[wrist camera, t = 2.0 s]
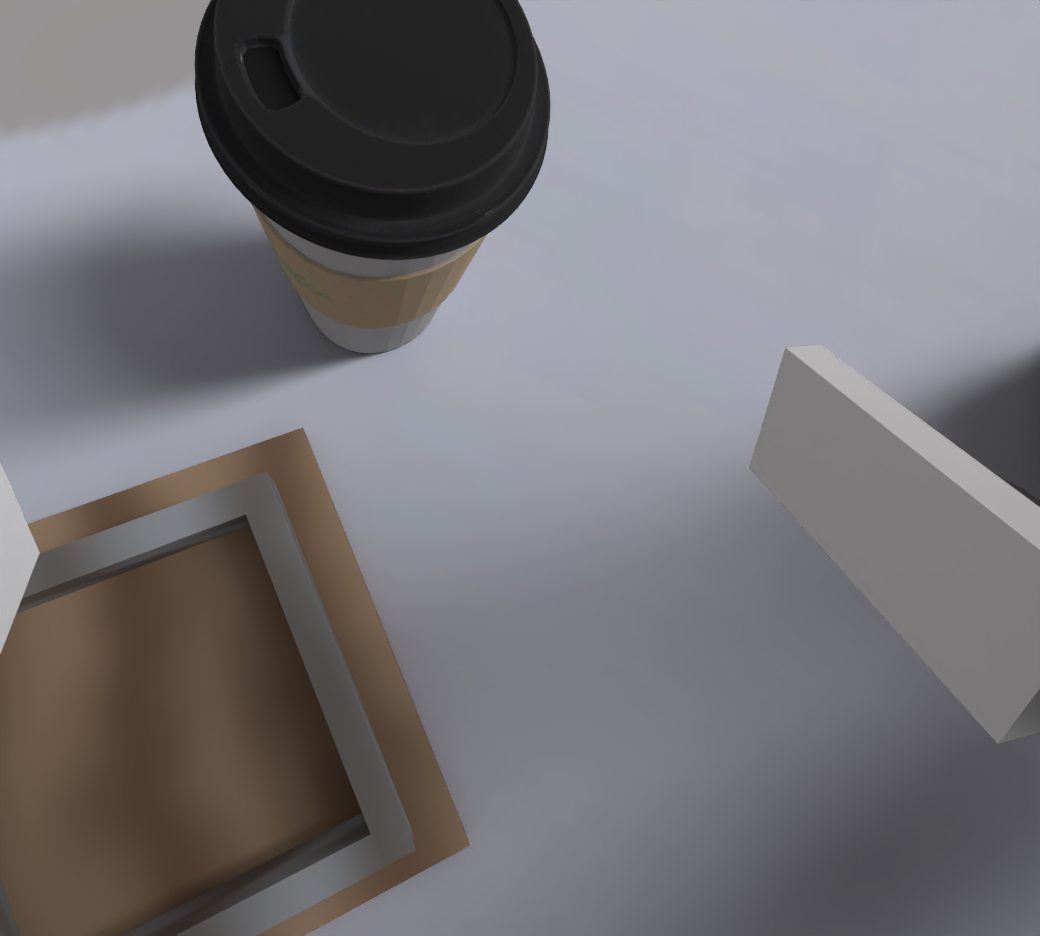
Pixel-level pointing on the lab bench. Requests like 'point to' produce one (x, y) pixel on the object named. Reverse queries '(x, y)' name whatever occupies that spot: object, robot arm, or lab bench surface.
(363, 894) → the square rimmed tray
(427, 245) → the coffee cup
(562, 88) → the lab bench surface
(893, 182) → the lab bench surface
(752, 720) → the lab bench surface
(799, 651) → the lab bench surface
